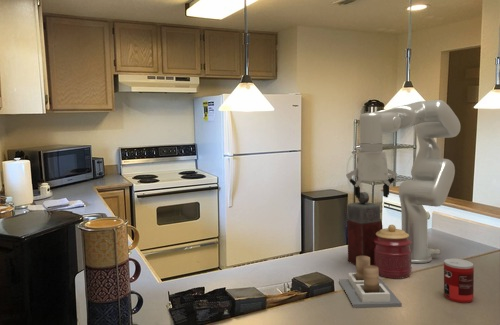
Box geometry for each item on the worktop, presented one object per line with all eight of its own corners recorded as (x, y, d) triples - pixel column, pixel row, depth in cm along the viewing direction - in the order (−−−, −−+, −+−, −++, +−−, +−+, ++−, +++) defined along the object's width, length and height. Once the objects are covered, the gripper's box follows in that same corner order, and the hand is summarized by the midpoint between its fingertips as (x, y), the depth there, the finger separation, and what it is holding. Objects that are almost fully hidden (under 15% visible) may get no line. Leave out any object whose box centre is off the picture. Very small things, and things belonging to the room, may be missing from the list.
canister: (387, 281, 134) (387, 230, 132) (366, 269, 146) (366, 222, 145) (419, 276, 137) (419, 226, 136) (396, 265, 150) (396, 219, 148)
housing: (379, 281, 134) (379, 271, 134) (401, 306, 114) (401, 294, 114) (339, 282, 134) (338, 272, 134) (353, 307, 114) (353, 296, 114)
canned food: (447, 290, 124) (447, 256, 123) (475, 296, 119) (476, 261, 118) (440, 299, 118) (440, 263, 117) (470, 305, 113) (471, 268, 112)
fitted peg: (368, 281, 131) (367, 255, 130) (372, 286, 127) (371, 259, 126) (355, 282, 131) (354, 255, 130) (358, 287, 127) (358, 259, 126)
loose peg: (381, 299, 117) (380, 269, 116) (367, 300, 117) (366, 270, 116) (376, 293, 121) (375, 264, 120) (362, 294, 121) (361, 265, 120)
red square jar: (385, 263, 152) (384, 192, 150) (362, 268, 147) (361, 194, 146) (370, 257, 160) (369, 189, 158) (347, 261, 156) (346, 191, 154)
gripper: (348, 149, 132) (349, 199, 133) (400, 148, 132) (400, 198, 133) (343, 149, 140) (344, 196, 141) (392, 147, 139) (392, 194, 140)
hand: (371, 197), depth 137 cm, fingers open, 9 cm apart
